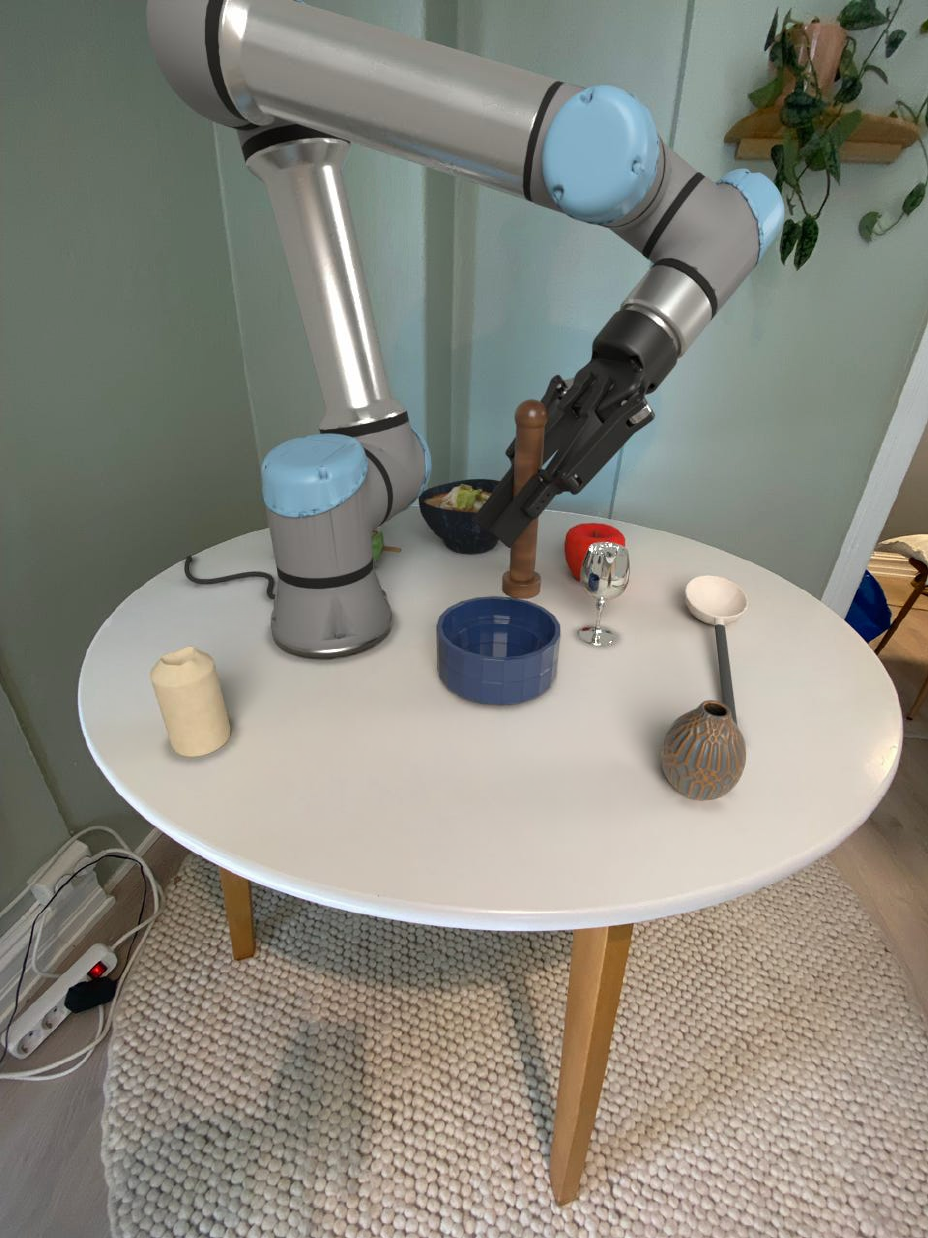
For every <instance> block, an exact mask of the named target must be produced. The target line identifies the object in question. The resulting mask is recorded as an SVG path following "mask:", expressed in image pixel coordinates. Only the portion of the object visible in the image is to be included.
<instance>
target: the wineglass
mask: <svg viewBox="0 0 928 1238" xmlns="http://www.w3.org/2000/svg"><path fill="white" fill-rule="evenodd" d="M630 573H631V564H630V554H629V550H628V548H627V547H626V546H625V547H624V546H622V545H619V544H616V543H611V542H598V543H593V544H591V545H590V546H589V548H588V550H587V552H586V555H585V558H584V560H583V564H582V568H581V574H580V581H579V582H580V585H581V588H582V590H583V591H584V593H586V595H588V596H589V597H591V598H593V599H596V600H597V601H596V604H595V607H596V619H595V620H596V621H595V625H591V626H585V627H583V628H581V629H580V630H579V631H578V637H579V639H580V640H581V641H583V642H585V643H586V644H590V645H592V646H593V645H594V646H605V645H609V644H611V643H612V642H613V641H614V640H615V636H614V633H612V632H611V630H609V629H607V628H604V627H602V626H600V625H601V624H600V623H601V618H602V614H603V610H604V609H605V606H606V602H605V601H609V600H613V599H616V598H618V597H621V595H622V594H623V593H625V591H626V589H627V588H628V585H629V582H630Z"/></svg>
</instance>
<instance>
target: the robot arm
mask: <svg viewBox="0 0 928 1238" xmlns="http://www.w3.org/2000/svg"><path fill="white" fill-rule="evenodd" d="M145 16H146V19H145V20H146V30H147V35H148V39H149V43H150V47H151V50H152V53H153V56H154V59H155V62H156V64H157V65H158V67H159V70H160V71H161V73H162V76H163V77H164V79H165V80H166V82H167V83H168V85H169V87H170V88H171V89H172V91H173V92H174V93H175V94H176V95H177V97H178V98H179V99H180V100H181V101H182V102H183V103H184V104H186V106H187V107H189V108H190V109H191V110H193V111H194V112H195V113H197V114H198V115H199V116H201V117H203V118H205V119H208V120H209V121H211V122H214V123H216V124H219V125H222V126H224V127H228V128H231V129H234V130H236V134H237V137H238V142H239V146H240V148H241V149H240V150H241V152H242V156H243V159H244V162H245V166H246V169H247V171H248V172H249V173H250V174H252V176H254V177H255V178H257V179H258V180H259V181H260V182H262V183H263V185H264V186H265V187H266V191H267V194H268V198H269V201H270V205H271V209H272V213H273V217H274V220H275V225H276V228H277V232H278V235H279V239H280V243H281V247H282V250H283V254H284V258H285V261H286V265H287V270H288V272H289V277H290V281H291V285H292V288H293V292H294V295H295V299H296V303H297V306H298V310H299V313H300V317H301V321H302V325H303V330H304V333H305V336H306V340H307V344H308V348H309V352H310V355H311V359H312V362H313V366H314V370H315V373H316V377H317V381H318V386H319V389H320V393H321V396H322V401H323V403H324V407H325V411H324V414H323V416H322V418H321V419H320V422H319V423H318V426H317V427H318V430H319V433H315V434H314V433H313V434H309V435H307V436H305V437H295V438H292V439H289V440H287V441H284V442H281V443H280V444H278V445H276V446H275V447H273V448H272V449H270V450H269V452H268V453H267V454H266V455H265V457H264V458H263V461H262V463H261V479H262V480H261V481H262V486H261V495H262V499H263V502H264V505H265V511H266V517H267V522H268V527H269V534H270V540H271V545H272V550H273V556H274V561H275V562H274V563H275V567H276V573H277V584H276V589H275V593H273V587H274V577H273V576H272V575H271V573H268V572H264V571H258V570H257V571H255V570H253V571H244V572H239V573H234V574H229V575H225V576H219V577H214V578H199V577H194V575H192V573H191V570H190V567H191V562H192V559H193V556H192V555H187V556H186V558H185V560H184V565H183V567H184V568H183V570H184V574H185V576H186V578H187V579H188V580H189V581H190V582H192V583H195V584H198V585H199V584H200V585H211V584H219V583H224V582H229V581H233V580H238V579H242V578H248V577H262V578H265V579H267V581H268V582H267V587H266V596H267V597H268V598H269V599H271V600H273V605H272V606H273V608H272V611H271V615H270V631H271V637H272V639H273V642H274V643H275V645H276V646H277V647H278V648H279V649H280V650H282V651H284V652H285V653H288V654H289V655H293V656H295V657H299V658H303V659H312V660H334V659H341V658H347V657H351V656H354V655H358V654H360V653H363V652H366V651H368V650H371V649H372V648H374V647H376V646H378V645H379V644H380V643H382V642H383V641H384V640H386V638H387V637H388V635H389V634H390V632H391V629H392V628H393V614H392V610H391V606H390V602H389V601H388V598H389V597H388V595H387V592H386V590H384V589H383V588H382V585H381V582H380V581H379V578H378V576H377V573H376V571H375V563H374V561H373V548H372V532H373V531H374V530H377V529H379V528H380V527H381V526H382V525H384V524H385V523H387V522H389V521H390V520H391V519H392V518H394V517H395V516H397V515H399V514H400V513H401V512H404V511H406V510H408V509H409V508H410V507H411V506H412V505H414V503H415V502H416V501H417V500H418V499H419V498H418V497H419V496H420V495H421V494H422V493H423V492H424V491H425V490H426V489H427V486H428V484H429V482H430V480H431V475H432V467H433V466H432V464H433V463H432V455H431V452H430V448H429V446H428V443H427V441H426V439H425V438H424V437H423V435H422V434H421V433H420V432H418V431H417V430H416V429H415V427H414V426H412V425H411V423H410V418H409V414H408V409H407V406H406V405H404V404H403V403H401V402H400V401H399V400H398V399H396V398H394V396H393V394H392V390H391V386H390V382H389V381H390V380H389V377H388V371H387V367H386V363H385V358H384V355H383V351H382V346H381V345H382V344H381V341H380V337H379V332H378V328H377V322H376V319H375V318H376V317H375V313H374V309H373V305H372V300H371V295H370V292H369V291H370V290H369V286H368V282H367V277H366V273H365V268H364V264H363V260H362V259H363V258H362V255H361V250H360V245H359V241H358V236H357V231H356V228H355V223H354V217H353V214H352V209H351V205H350V200H349V195H348V190H347V187H346V181H345V177H344V170H345V167H346V165H347V163H348V162H349V159H350V157H351V156H352V153H353V150H352V149H353V148H352V145H351V142H352V143H354V144H357V145H360V146H362V147H367V148H369V149H372V150H375V151H377V152H381V153H383V154H387V155H390V156H393V157H396V158H398V159H402V160H405V161H409V162H412V163H414V164H417V165H419V166H422V167H426V168H429V169H432V170H435V171H437V172H441V173H444V174H446V175H450V176H453V177H455V178H458V179H462V180H465V181H468V182H471V183H473V184H477V185H480V186H483V187H486V188H489V189H492V190H495V191H497V192H500V193H503V194H506V195H510V196H513V197H516V198H518V199H522V200H525V201H527V202H530V203H533V204H534V205H537V206H540V207H543V208H546V209H549V210H552V211H555V212H558V213H561V214H564V215H566V216H567V217H569V218H570V219H573V220H575V221H579V222H583V223H586V224H589V225H594V226H600V227H603V228H606V229H608V230H610V231H611V232H613V233H614V235H616V236H617V237H619V238H621V239H622V240H623V241H624V242H626V243H627V244H628V245H629V246H631V247H633V249H635V250H636V251H637V252H638V253H639V254H641V255H642V256H643V258H645V259H646V260H649V262H651V263H652V265H651V266H650V268H649V269H648V270H647V271H646V272H645V274H644V275H643V276H642V278H641V279H640V280H639V281H638V283H637V284H635V286H634V287H633V289H632V290H631V291H630V292H629V294H628V295H627V296H626V297H625V298H624V299H623V301H622V302H621V303H620V306H619V309H618V311H615V312H614V313H613V315H612V316H610V318H609V319H608V320H607V322H606V323H605V325H604V326H603V327H602V328H601V330H600V331H599V332H598V333H597V335H596V336H595V337H594V339H593V341H592V343H591V356H590V357H591V358H590V360H589V362H587V364H585V365H584V366H583V367H582V368H581V369H579V370H578V371H577V372H576V374H575V375H574V377H571V378H567V379H563V378H562V376H561V375H560V374H556V375H554V376H552V378H551V379H550V381H549V383H548V385H547V388H546V391H545V393H544V395H543V397H541V399H540V400H539V401H540V402H541V403H543V404H544V406H545V407H546V409H547V412H548V420H547V423H546V425H545V433H544V448H543V462H542V467H543V466H544V465H545V464H546V463H547V462H548V461H549V462H548V464H547V466H546V467H545V468H542V469H539V468H538V469H537V474H538V475H539V476H540V477H541V481H540V479H539V478H538V477H536V476H534V475H533V476H532V477H531V478H530V479H529V481H528V482H527V483H526V485H525V486H524V487H523V488H522V490H521V491H520V492H519V493H518V495H517V496H516V497H515V498H514V500H513V485H514V464H515V442H516V436H515V437H514V438H513V439H512V441H511V442H510V444H509V446H508V447H507V448H506V450H505V453H504V454H505V456H506V457H507V458H508V459H509V462H510V468H509V469H508V470H507V471H506V473H505V474H504V475H503V477H501V479H500V480H499V481H500V482H499V483H498V484H497V486H496V487H495V488H494V490H493V492H492V494H491V496H490V497H489V498H488V499H487V501H486V502H485V503H484V504H483V506H482V507H481V508H480V509H479V511H478V512H477V513H476V515H475V516H474V517H473V518H472V520H473V521H474V522H475V523H477V524H478V525H479V526H480V527H481V528H482V529H483V530H484V531H485V532H486V533H488V534H489V535H490V536H493V535H494V536H496V537H497V538H498V539H499V541H500V542H501V543H502V544H503V545H504V546H505V547H506V548H508V549H511V546H512V545H513V544H514V542H515V541H516V540H517V539H518V537H519V536H520V535H521V534H522V532H523V531H524V530H525V529H526V527H527V526H528V525H529V524H530V522H531V521H532V520H535V519H536V518H537V517H539V518H540V516H541V514H542V513H543V512H544V510H545V509H546V508H547V507H548V506H549V504H551V502H552V501H553V500H554V498H555V497H556V496H559V495H562V494H563V493H565V492H566V493H569V494H571V495H573V496H576V495H578V494H580V493H581V492H582V490H584V489H585V487H586V486H587V485H588V484H589V483H590V482H591V481H592V480H593V479H594V478H595V477H596V476H597V475H598V473H600V472H601V470H602V469H603V468H604V467H605V466H606V465H607V464H608V462H610V461H611V459H612V458H613V457H614V456H615V455H616V454H617V453H618V452H619V451H620V450H621V449H622V447H624V445H626V443H627V442H629V440H630V439H631V438H632V437H633V435H635V434H636V433H637V432H639V431H640V430H641V429H643V428H645V427H646V426H647V425H648V424H650V423H651V422H653V421H654V419H655V418H656V413H655V412H654V410H653V408H652V406H651V405H650V404H649V402H648V400H647V399H646V396H647V395H650V394H653V393H654V392H655V391H656V390H657V389H658V388H659V387H660V385H662V383H663V382H664V381H665V380H666V378H667V377H668V376H669V374H671V372H672V371H673V369H674V368H675V367H676V365H677V363H678V359H681V358H682V357H683V356H684V355H685V354H686V353H687V351H688V350H689V349H690V348H691V346H692V345H693V344H694V343H695V341H696V340H697V338H699V336H700V335H701V334H702V332H703V331H704V330H705V329H706V327H707V326H708V325H709V324H710V323H711V321H712V320H713V319H714V318H715V316H716V315H718V313H719V311H720V310H721V309H722V308H723V307H724V305H725V304H726V303H727V302H728V300H730V299H731V297H732V296H733V295H734V293H735V292H736V291H737V290H738V288H740V286H741V285H742V284H743V282H744V281H745V280H746V279H747V278H748V276H749V275H750V274H751V273H752V272H753V270H754V269H755V268H756V266H757V265H758V264H759V263H761V259H762V258H763V256H764V255H766V252H767V251H768V250H769V249H770V247H771V245H772V244H773V243H774V242H775V240H776V239H777V237H778V235H779V233H780V232H781V230H782V228H783V226H784V221H785V204H784V199H783V197H782V194H781V191H780V190H779V189H778V187H777V186H776V184H775V183H774V182H773V181H772V180H771V179H770V178H769V177H767V175H765V174H764V173H762V172H759V171H758V172H751V170H749V169H748V168H737V169H733V170H731V171H729V172H727V173H725V174H724V175H723V176H722V177H721V178H720V179H719V180H717V181H715V182H714V181H713V180H712V179H711V178H710V177H709V176H705V175H704V174H703V173H702V172H700V171H697V169H696V168H694V167H693V166H692V165H690V163H689V162H687V161H686V160H685V159H684V158H683V157H681V155H679V154H678V153H677V152H676V151H675V150H674V149H672V148H671V147H670V146H668V144H666V142H664V140H663V138H662V137H661V136H660V135H661V134H659V132H658V130H657V127H656V124H655V121H654V118H653V116H652V114H651V112H650V111H649V109H648V107H647V106H645V105H644V104H642V102H641V101H640V99H639V98H638V97H637V96H635V95H634V94H632V93H629V92H627V91H625V90H624V89H622V88H620V87H617V86H614V85H609V84H608V85H607V84H600V85H595V86H590V87H583V86H580V85H578V84H577V85H576V84H573V83H567V82H563V81H561V80H560V79H558V78H554V77H550V76H547V75H544V74H540V73H536V72H534V71H530V70H527V69H524V68H520V67H517V66H513V65H510V64H508V63H503V62H500V61H497V60H493V59H490V58H487V57H483V56H480V55H477V54H474V53H471V52H467V51H463V50H460V49H457V48H453V47H450V46H448V45H447V46H446V45H444V44H440V43H436V42H433V41H431V40H430V41H429V40H427V39H423V38H420V37H416V36H414V35H410V34H407V33H403V32H400V31H397V30H392V29H390V28H387V27H383V26H379V25H377V24H373V23H370V22H366V21H364V20H360V19H356V18H353V17H351V16H348V15H347V16H346V15H343V14H340V13H337V12H333V11H329V10H327V9H323V8H319V7H316V6H313V5H310V4H307V3H306V2H304V1H302V0H146V9H145ZM550 459H551V460H550Z"/></svg>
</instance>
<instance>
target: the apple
mask: <svg viewBox="0 0 928 1238" xmlns="http://www.w3.org/2000/svg"><path fill="white" fill-rule="evenodd" d="M598 542H611V543H616V544H619V545H622V546H624V547H625V548H626V538H625V536H624V533H622V531H620V530H619V529H618V528H616V527H614V526H612V525H610V524H606V523H600V522H587V523H586V522H585V523H579V524H576V525H575V526H572V527H571V528H569V529H568V530H567V533H566V535H565V539H564V543H563V547H564V548H563V549H564V550H563V551H564V558H565V562H566V565H567V567H568V569H569V571H570V573H571V575H572V577H573V578H574V579H576V580H577V581H579V582H581V581H580V574H581V568H582V564H583V560H584V558H585V555H586V552H587V550H588V548H589V546H590V545H591V544H593V543H598Z"/></svg>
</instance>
